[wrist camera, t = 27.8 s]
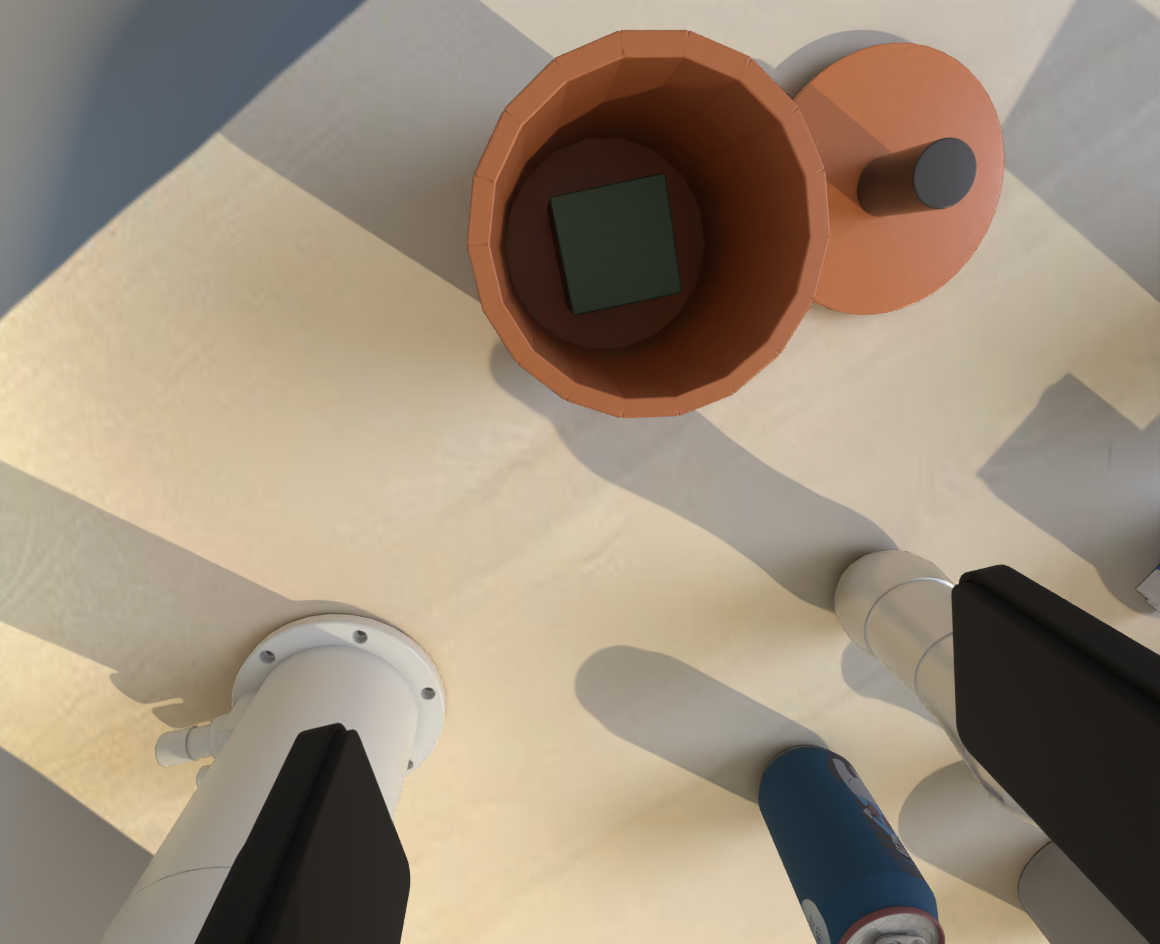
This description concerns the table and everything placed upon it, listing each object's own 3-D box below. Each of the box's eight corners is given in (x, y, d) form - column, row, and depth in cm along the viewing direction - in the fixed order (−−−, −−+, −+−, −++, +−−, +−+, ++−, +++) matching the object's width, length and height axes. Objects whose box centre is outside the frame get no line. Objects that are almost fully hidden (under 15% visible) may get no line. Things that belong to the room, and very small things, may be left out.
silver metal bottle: (834, 534, 39) (1121, 789, 20) (938, 541, 40) (1310, 796, 21) (811, 626, 41) (1053, 939, 22) (910, 632, 42) (1228, 940, 23)
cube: (567, 308, 33) (573, 316, 29) (546, 206, 32) (549, 196, 27) (661, 288, 33) (683, 292, 29) (645, 185, 32) (665, 171, 27)
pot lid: (766, 334, 35) (814, 349, 29) (739, 78, 31) (789, 36, 25) (987, 287, 35) (1080, 292, 29) (989, 26, 31) (1096, -29, 25)
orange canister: (521, 381, 35) (516, 451, 22) (467, 149, 31) (423, 71, 18) (726, 337, 35) (841, 381, 22) (697, 100, 31) (814, -12, 18)
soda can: (744, 816, 46) (815, 1001, 34) (761, 735, 43) (843, 904, 32) (837, 816, 46) (938, 997, 35) (858, 737, 44) (972, 903, 33)
